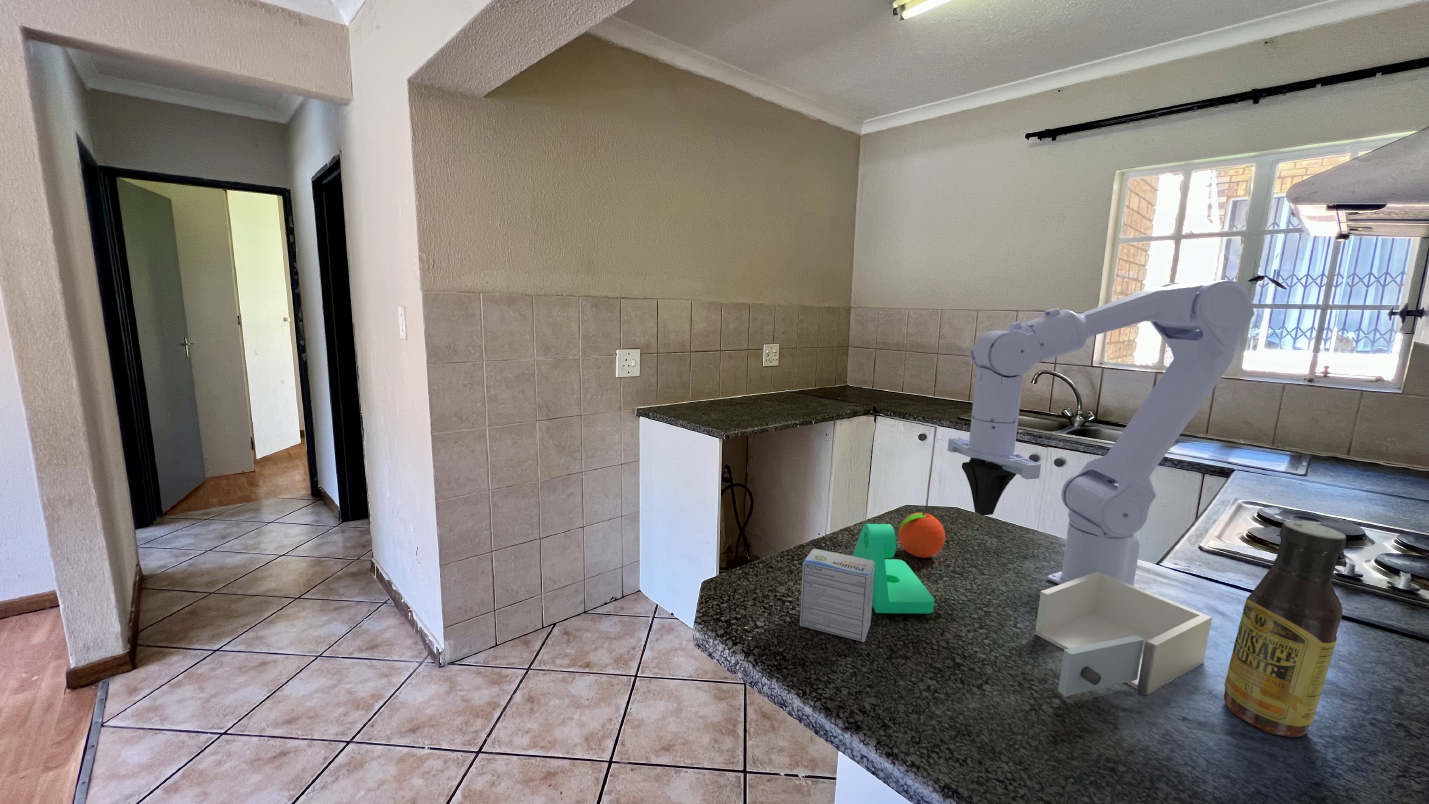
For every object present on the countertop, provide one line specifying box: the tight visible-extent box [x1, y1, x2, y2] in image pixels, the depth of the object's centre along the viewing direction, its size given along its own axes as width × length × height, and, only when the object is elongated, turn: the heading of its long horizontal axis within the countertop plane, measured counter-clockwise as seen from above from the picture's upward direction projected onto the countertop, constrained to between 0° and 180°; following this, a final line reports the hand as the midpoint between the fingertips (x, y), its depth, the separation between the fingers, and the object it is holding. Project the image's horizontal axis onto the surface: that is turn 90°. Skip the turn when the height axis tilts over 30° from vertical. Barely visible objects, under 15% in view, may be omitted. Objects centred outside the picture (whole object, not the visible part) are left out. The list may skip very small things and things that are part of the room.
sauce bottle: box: [1223, 520, 1347, 738], centre depth 53 cm, size 6×6×20 cm
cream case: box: [1034, 571, 1213, 696], centre depth 65 cm, size 13×12×6 cm
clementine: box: [898, 512, 946, 558], centre depth 88 cm, size 8×7×7 cm
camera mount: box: [852, 523, 935, 614], centre depth 76 cm, size 12×8×10 cm, turn 2°
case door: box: [1057, 635, 1144, 697], centre depth 56 cm, size 2×10×5 cm, turn 107°
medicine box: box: [799, 548, 875, 643], centre depth 68 cm, size 8×4×9 cm, turn 65°
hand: (983, 513), depth 79 cm, fingers closed
